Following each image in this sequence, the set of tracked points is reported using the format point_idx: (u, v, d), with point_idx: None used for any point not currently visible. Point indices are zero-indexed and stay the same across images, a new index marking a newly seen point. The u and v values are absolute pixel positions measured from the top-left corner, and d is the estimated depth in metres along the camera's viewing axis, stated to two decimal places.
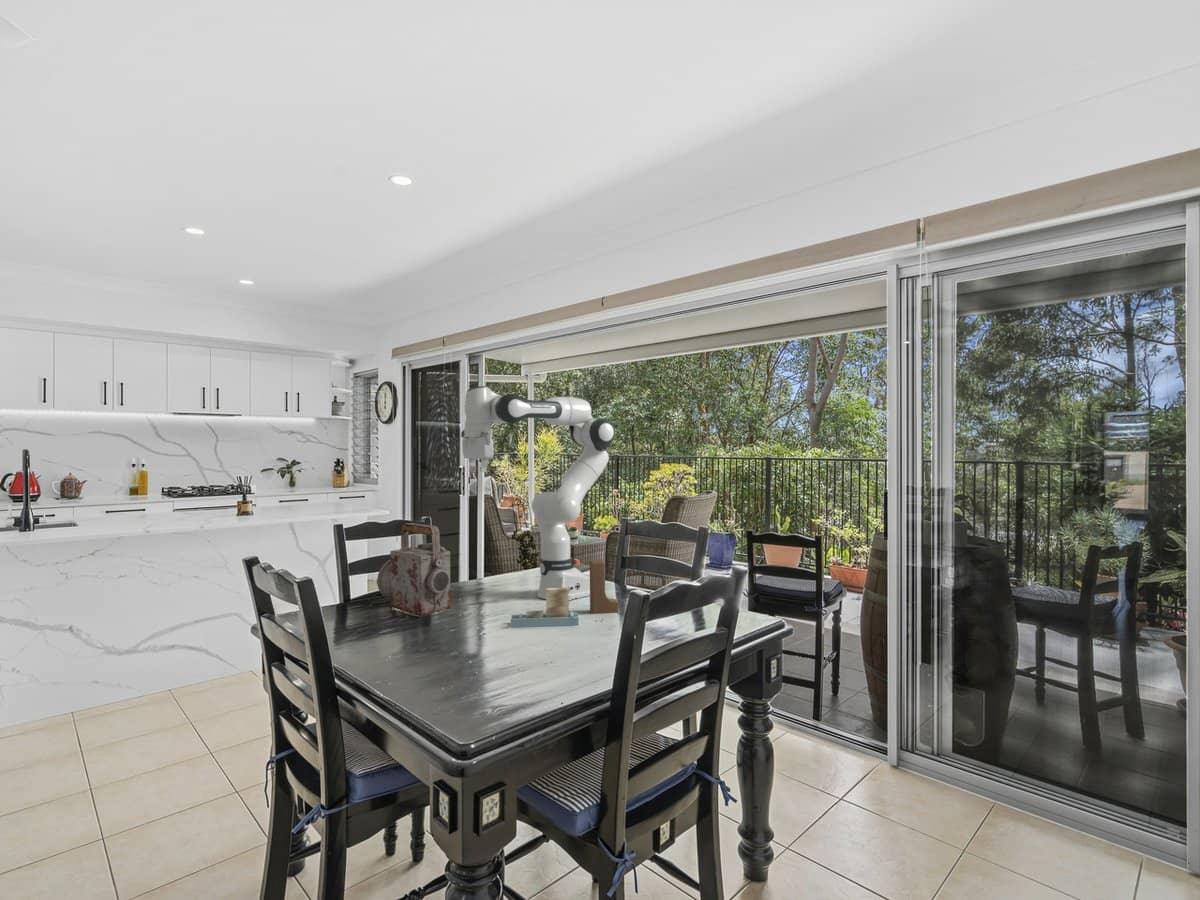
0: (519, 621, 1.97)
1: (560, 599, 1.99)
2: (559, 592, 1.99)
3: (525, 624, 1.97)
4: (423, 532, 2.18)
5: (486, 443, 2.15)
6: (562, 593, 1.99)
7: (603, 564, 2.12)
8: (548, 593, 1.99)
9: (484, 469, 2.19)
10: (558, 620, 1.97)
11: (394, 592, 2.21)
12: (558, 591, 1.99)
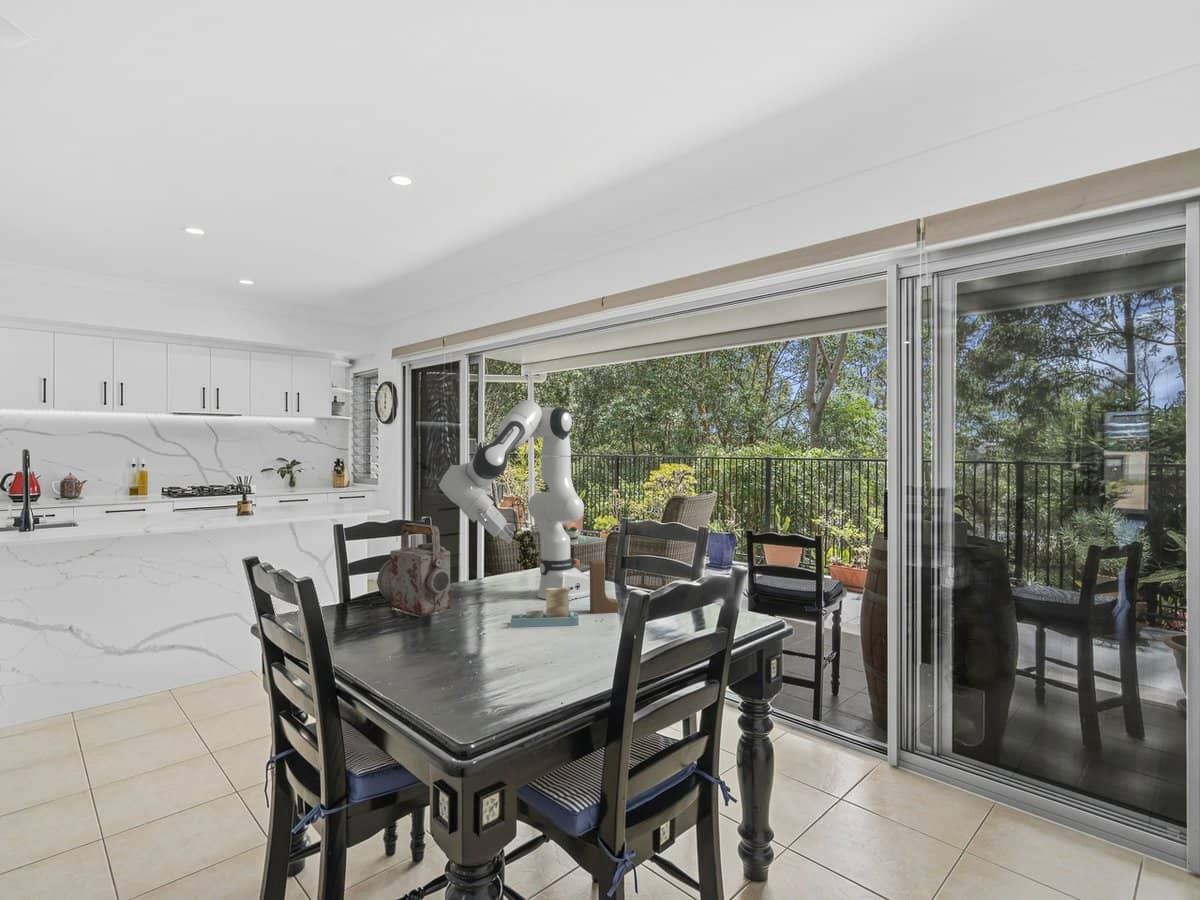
0: (519, 621, 1.97)
1: (560, 599, 1.99)
2: (559, 592, 1.99)
3: (525, 624, 1.97)
4: (423, 532, 2.18)
5: (484, 522, 1.89)
6: (562, 593, 1.99)
7: (603, 564, 2.12)
8: (548, 593, 1.99)
9: (508, 539, 1.94)
10: (558, 620, 1.97)
11: (394, 592, 2.21)
12: (558, 591, 1.99)
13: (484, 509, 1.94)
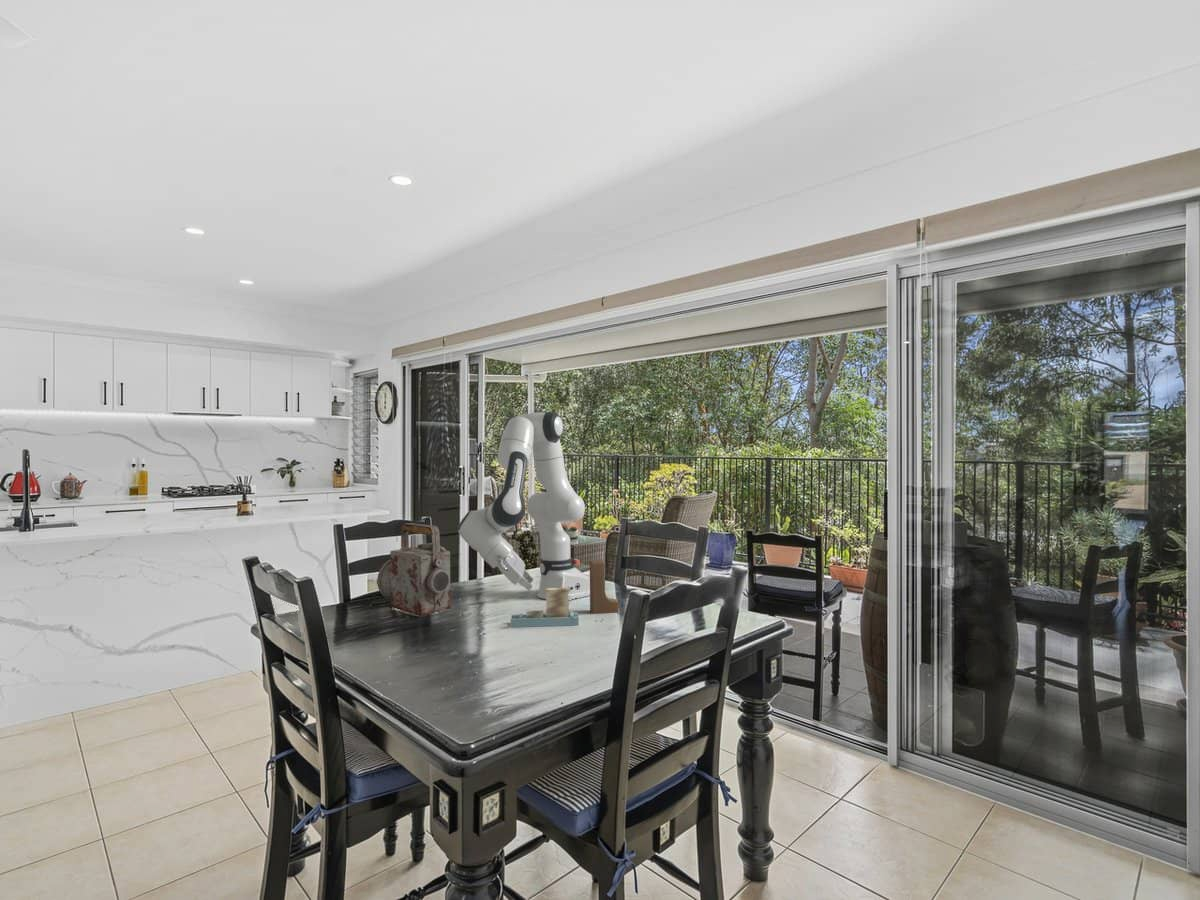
0: (519, 621, 1.97)
1: (560, 599, 1.99)
2: (559, 592, 1.99)
3: (525, 624, 1.97)
4: (423, 532, 2.18)
5: (504, 571, 1.89)
6: (562, 593, 1.99)
7: (603, 564, 2.12)
8: (548, 593, 1.99)
9: (528, 586, 1.94)
10: (558, 620, 1.97)
11: (394, 592, 2.21)
12: (558, 591, 1.99)
13: (504, 556, 1.95)
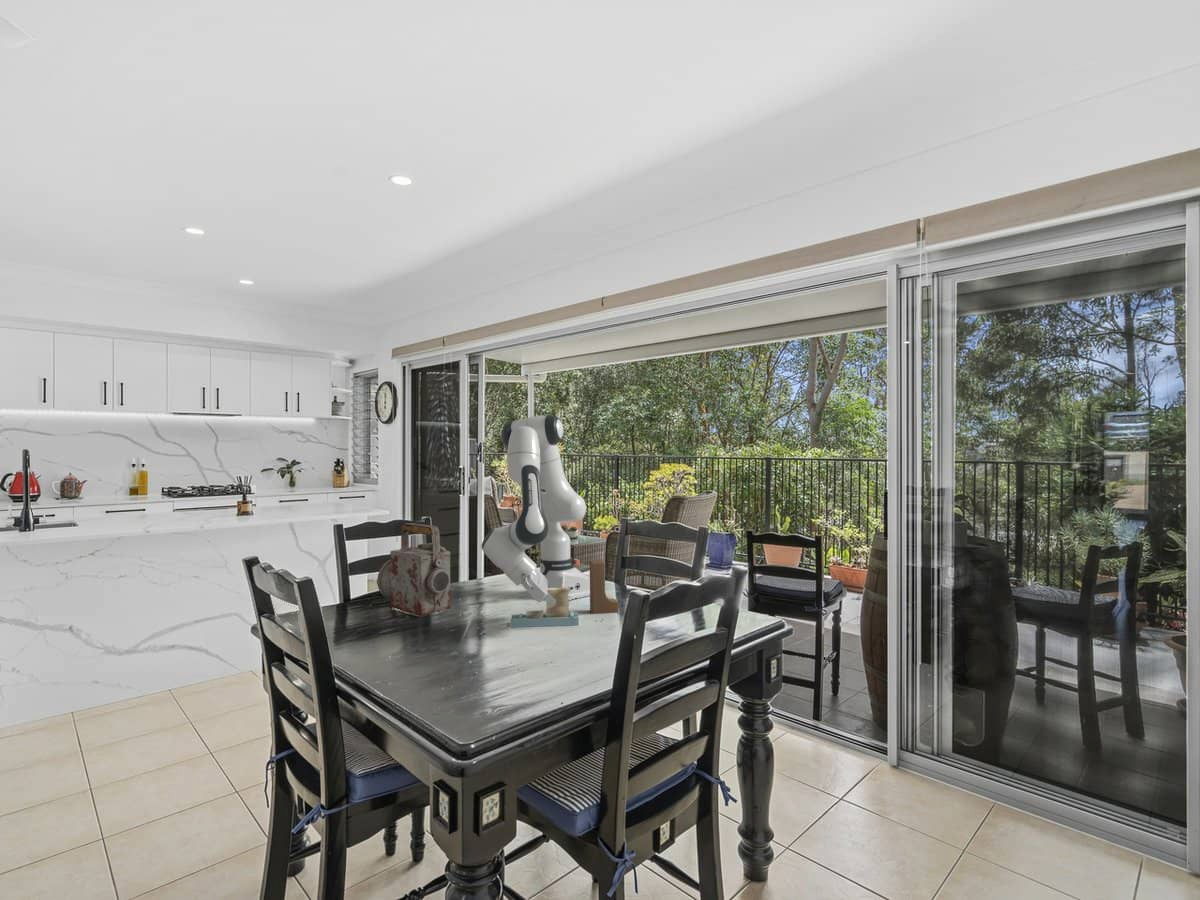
0: (519, 621, 1.97)
1: (560, 599, 1.99)
2: (559, 592, 1.99)
3: (525, 624, 1.97)
4: (423, 532, 2.18)
5: (529, 589, 1.90)
6: (562, 593, 1.99)
7: (603, 564, 2.12)
8: None
9: (552, 601, 1.97)
10: (558, 620, 1.97)
11: (394, 592, 2.21)
12: (558, 591, 1.99)
13: (528, 573, 1.95)
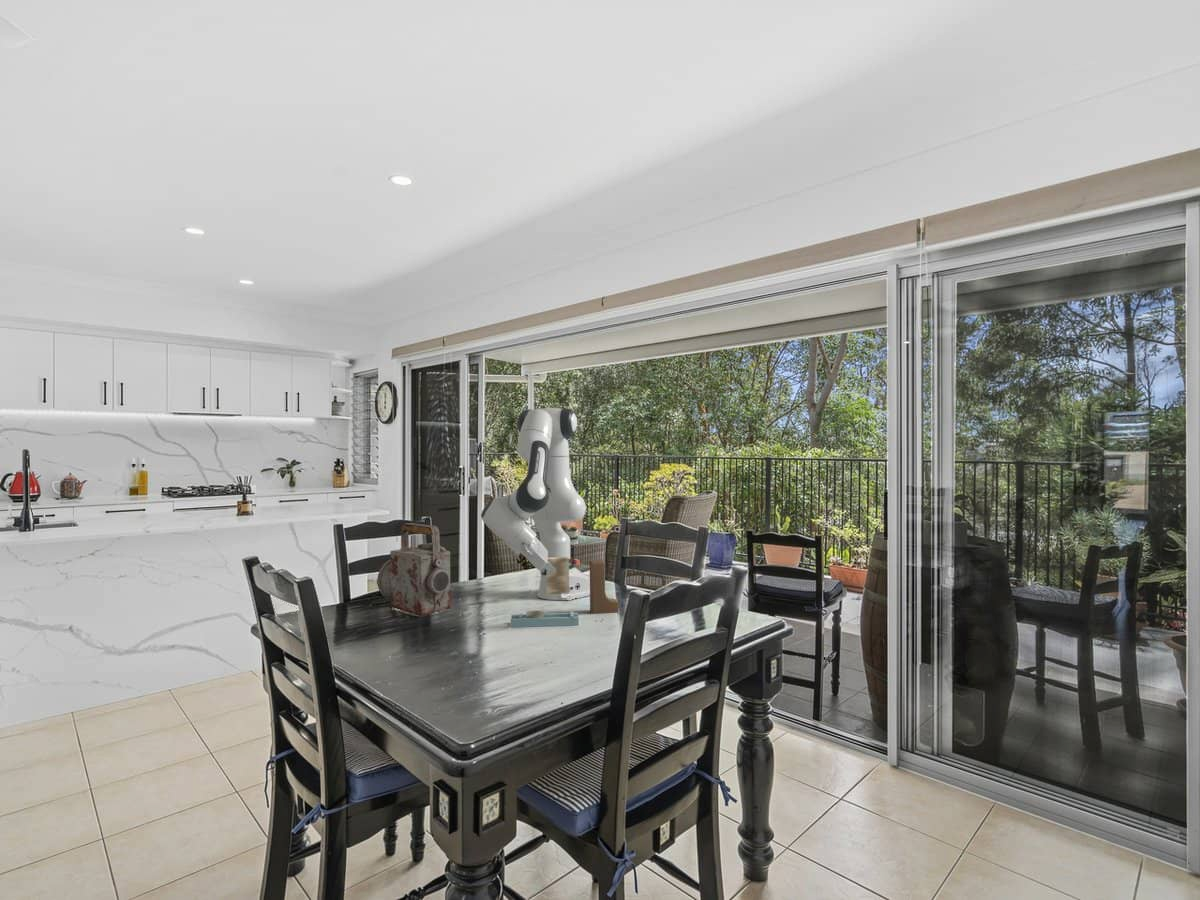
0: (519, 621, 1.97)
1: (560, 569, 1.99)
2: (559, 561, 1.99)
3: (525, 624, 1.97)
4: (423, 532, 2.18)
5: (529, 557, 1.90)
6: (562, 562, 1.99)
7: (603, 564, 2.12)
8: None
9: (553, 570, 1.97)
10: (558, 620, 1.97)
11: (394, 592, 2.21)
12: (558, 560, 1.99)
13: (528, 542, 1.95)
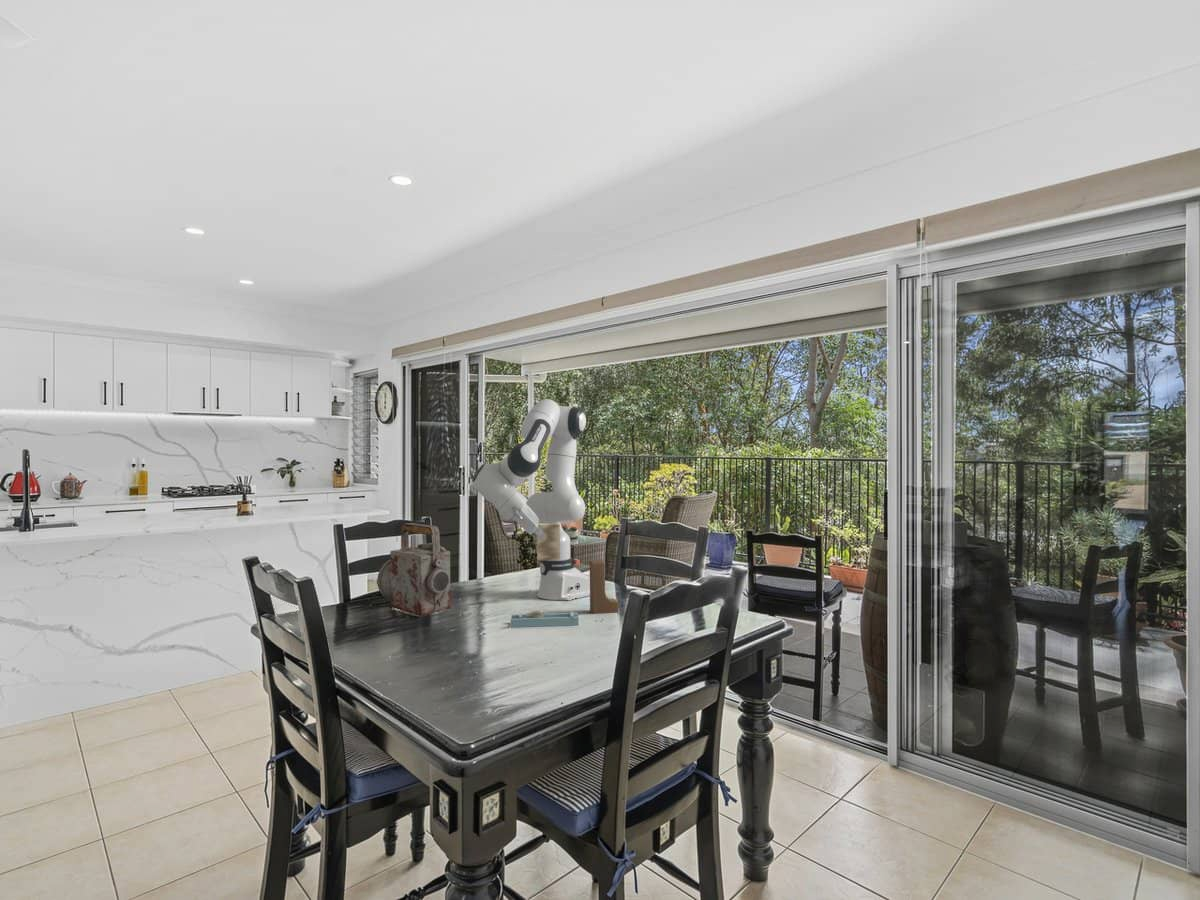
0: (519, 621, 1.97)
1: (551, 534, 1.99)
2: (550, 527, 1.99)
3: (525, 624, 1.97)
4: (423, 532, 2.18)
5: (520, 520, 1.89)
6: (553, 528, 1.99)
7: (603, 564, 2.12)
8: None
9: (543, 536, 1.97)
10: (558, 620, 1.97)
11: (394, 592, 2.21)
12: (549, 526, 1.99)
13: (519, 507, 1.95)
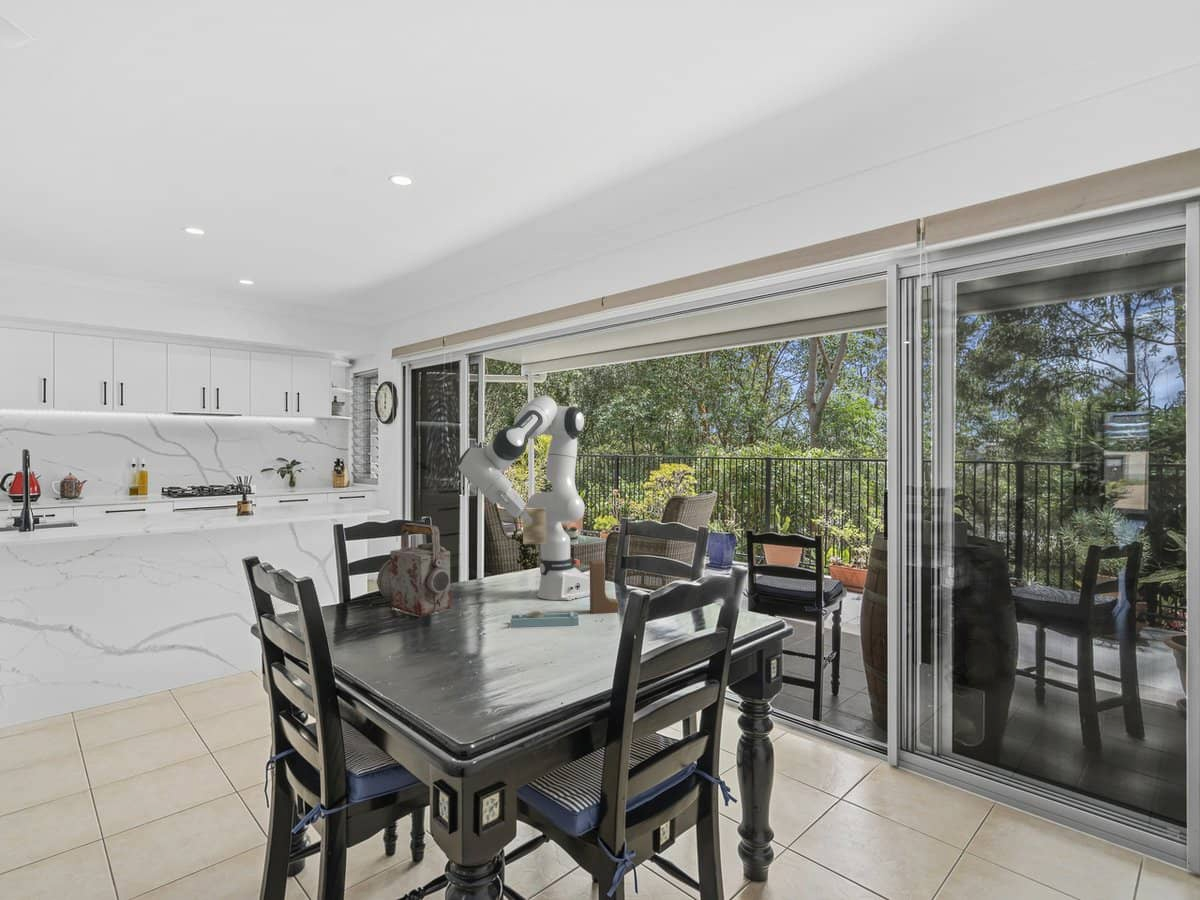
0: (519, 621, 1.97)
1: (537, 519, 1.98)
2: (536, 511, 1.98)
3: (525, 624, 1.97)
4: (423, 532, 2.18)
5: (505, 504, 1.89)
6: (539, 512, 1.98)
7: (603, 564, 2.12)
8: None
9: (529, 520, 1.97)
10: (558, 620, 1.97)
11: (394, 592, 2.21)
12: (535, 510, 1.98)
13: (504, 491, 1.94)
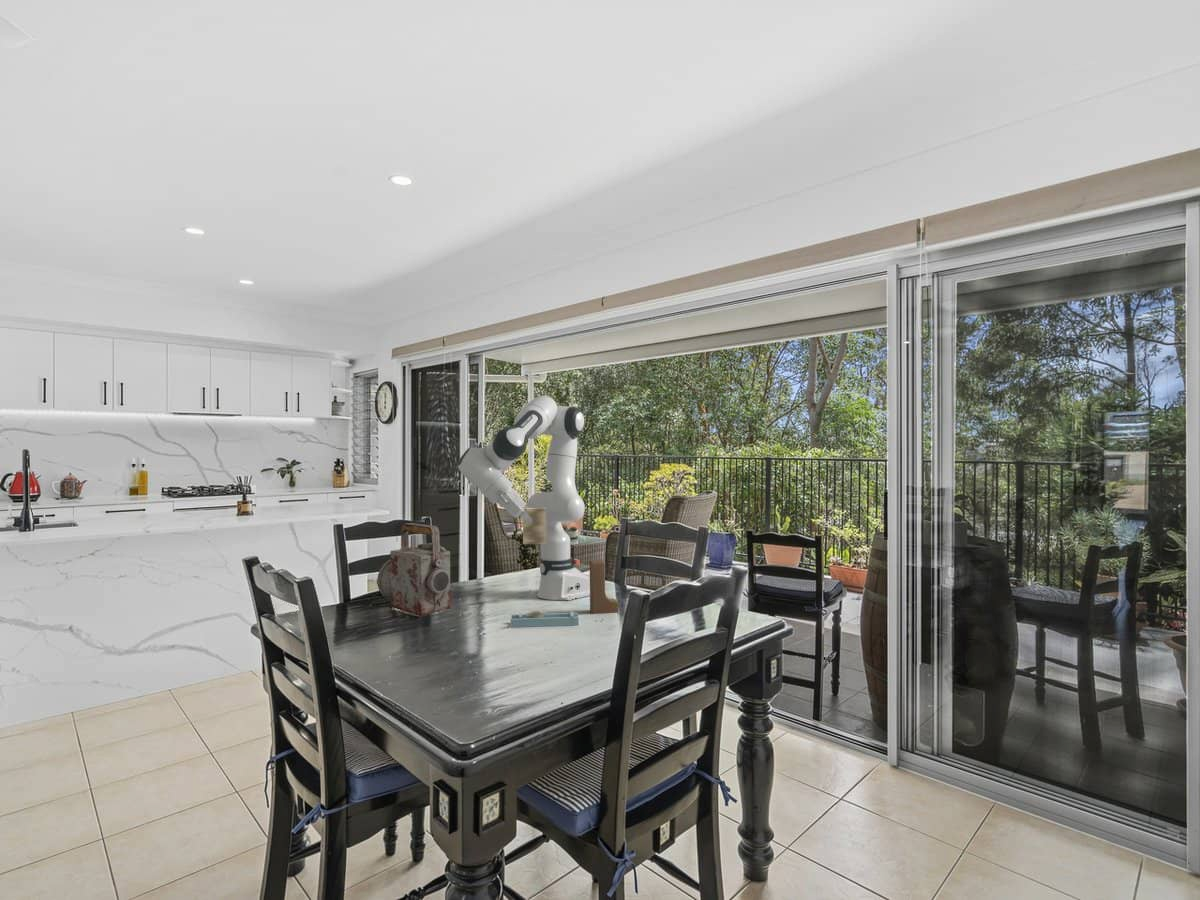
0: (519, 621, 1.97)
1: (537, 519, 1.98)
2: (536, 511, 1.98)
3: (525, 624, 1.97)
4: (423, 532, 2.18)
5: (504, 504, 1.89)
6: (539, 512, 1.98)
7: (603, 564, 2.12)
8: None
9: (529, 520, 1.97)
10: (558, 620, 1.97)
11: (394, 592, 2.21)
12: (535, 510, 1.98)
13: (504, 491, 1.94)
